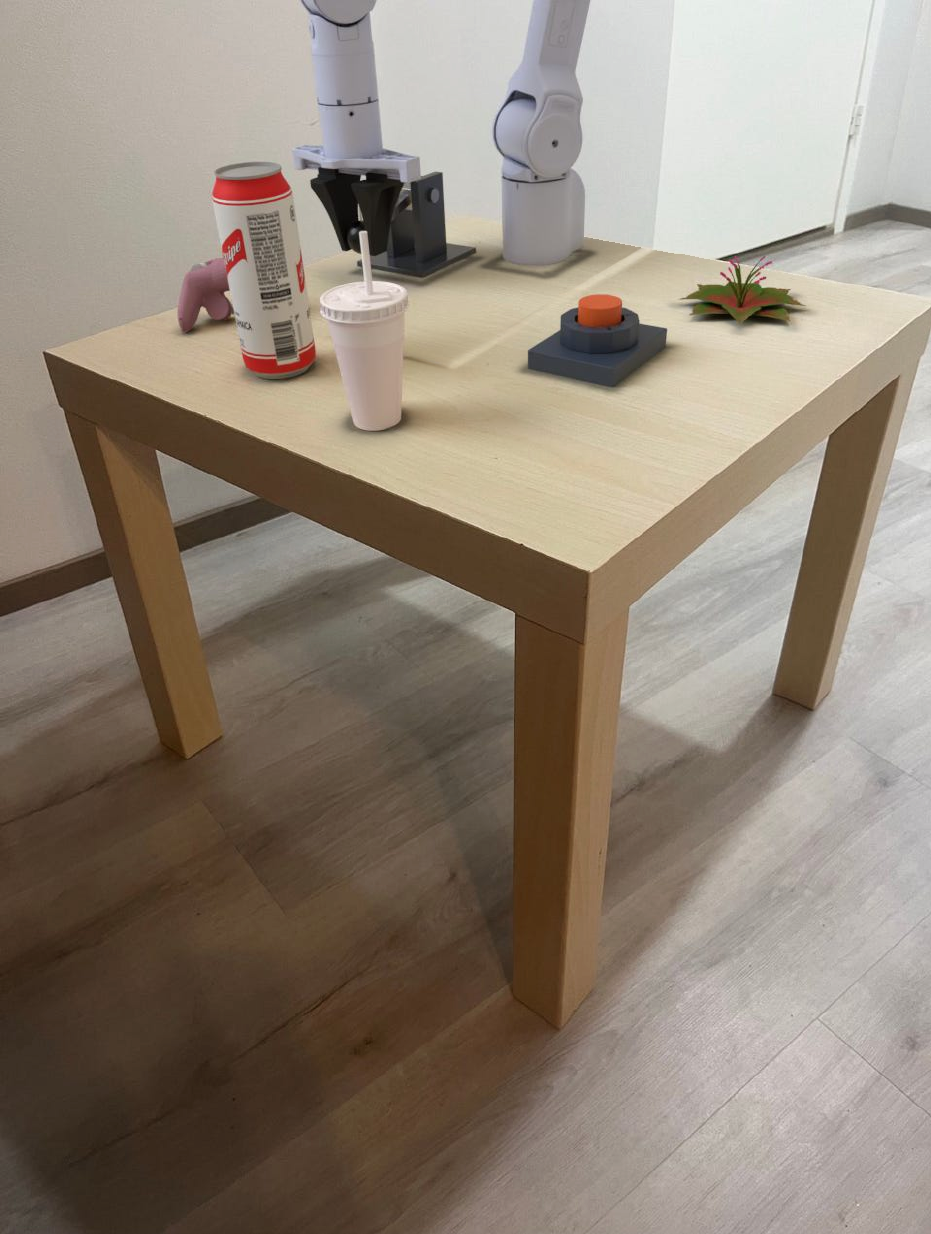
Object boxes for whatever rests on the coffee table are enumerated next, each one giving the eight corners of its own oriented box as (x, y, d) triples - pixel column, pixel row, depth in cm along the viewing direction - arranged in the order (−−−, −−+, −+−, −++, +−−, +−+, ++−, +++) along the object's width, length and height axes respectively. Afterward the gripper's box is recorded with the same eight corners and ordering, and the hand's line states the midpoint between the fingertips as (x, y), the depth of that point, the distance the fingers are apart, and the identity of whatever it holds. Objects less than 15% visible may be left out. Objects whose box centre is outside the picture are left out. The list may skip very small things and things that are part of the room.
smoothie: (386, 445, 69) (365, 249, 60) (318, 428, 72) (289, 238, 63) (434, 412, 73) (421, 224, 64) (368, 396, 76) (348, 214, 67)
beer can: (257, 388, 78) (219, 183, 68) (236, 363, 83) (197, 167, 73) (328, 372, 80) (300, 170, 71) (303, 349, 85) (274, 156, 75)
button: (590, 312, 80) (591, 291, 79) (628, 319, 78) (629, 298, 77) (569, 325, 78) (570, 304, 77) (608, 332, 76) (609, 311, 75)
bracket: (423, 284, 98) (416, 189, 92) (357, 272, 102) (347, 181, 97) (476, 258, 104) (473, 168, 99) (412, 248, 109) (406, 161, 103)
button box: (585, 331, 85) (586, 293, 83) (665, 347, 81) (669, 307, 79) (527, 369, 79) (527, 329, 77) (612, 388, 75) (614, 346, 73)
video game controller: (288, 335, 92) (286, 260, 91) (274, 329, 88) (272, 251, 86) (192, 335, 93) (188, 262, 92) (173, 330, 89) (169, 252, 87)
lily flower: (681, 285, 94) (686, 238, 91) (806, 291, 91) (815, 242, 88) (669, 328, 85) (674, 277, 82) (807, 335, 82) (817, 283, 79)
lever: (369, 262, 94) (361, 232, 92) (345, 258, 96) (336, 229, 93) (435, 202, 100) (428, 173, 97) (411, 199, 101) (404, 170, 99)
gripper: (262, 103, 88) (285, 252, 96) (381, 113, 81) (395, 271, 89) (312, 92, 93) (330, 234, 101) (429, 99, 86) (438, 252, 94)
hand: (364, 251), depth 96 cm, fingers closed on lever, 3 cm apart
